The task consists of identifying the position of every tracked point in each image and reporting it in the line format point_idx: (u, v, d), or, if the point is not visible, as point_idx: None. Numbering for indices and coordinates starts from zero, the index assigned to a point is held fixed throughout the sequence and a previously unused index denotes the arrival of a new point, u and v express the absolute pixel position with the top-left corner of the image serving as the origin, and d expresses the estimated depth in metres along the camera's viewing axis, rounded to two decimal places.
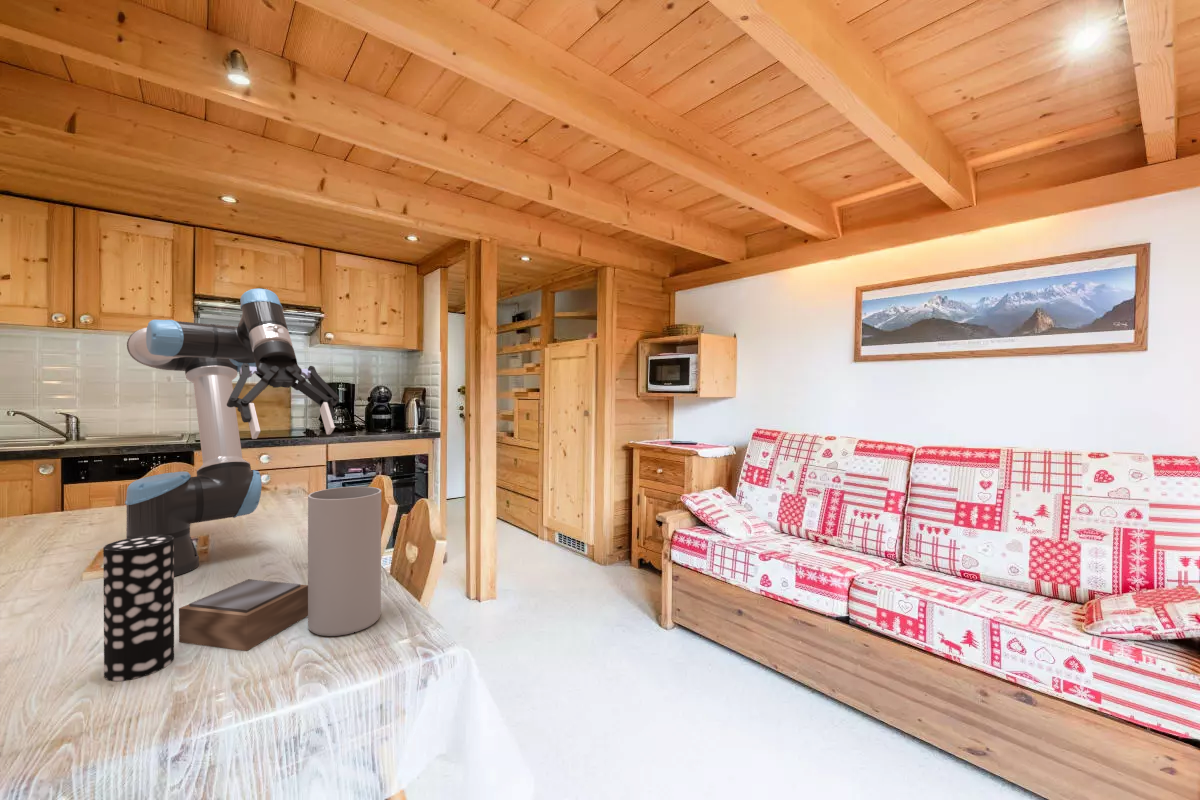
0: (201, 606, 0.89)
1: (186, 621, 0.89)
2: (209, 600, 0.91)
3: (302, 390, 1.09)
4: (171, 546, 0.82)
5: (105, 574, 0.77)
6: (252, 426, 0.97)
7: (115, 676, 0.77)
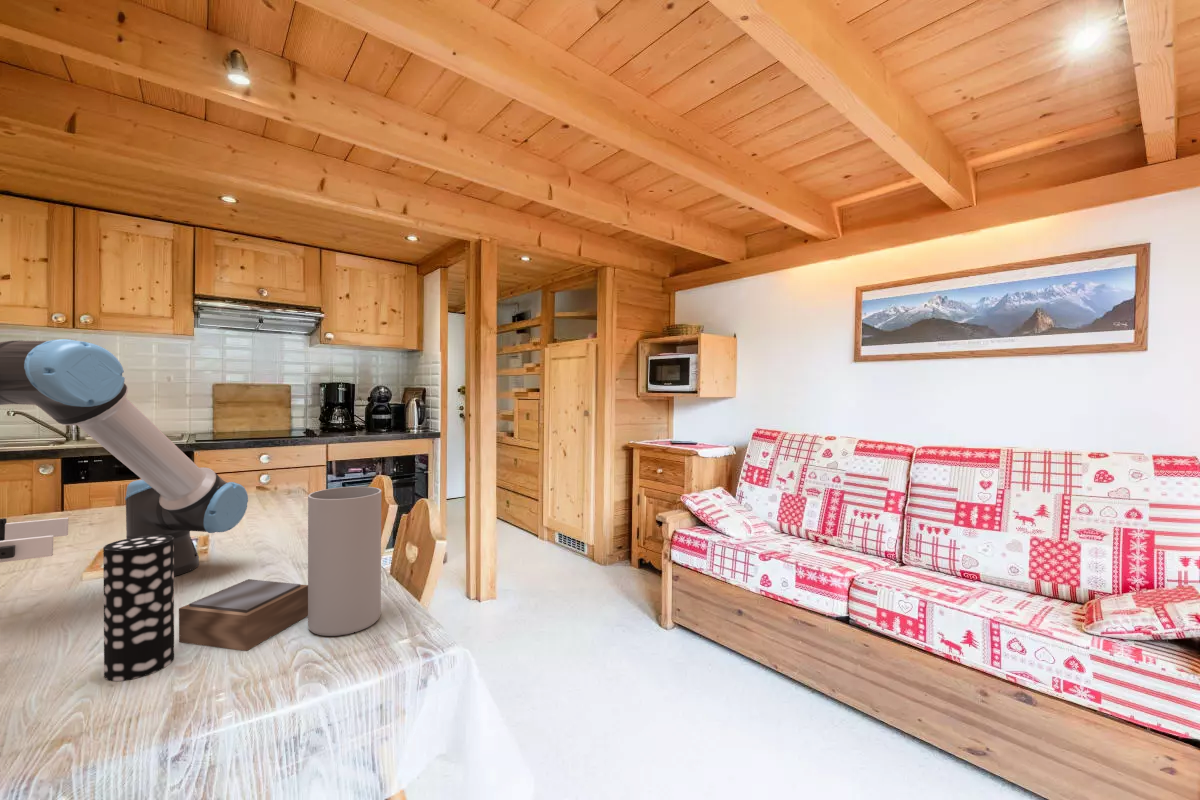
0: (201, 606, 0.89)
1: (186, 621, 0.89)
2: (209, 600, 0.91)
3: None
4: (171, 546, 0.82)
5: (105, 574, 0.77)
6: None
7: (115, 676, 0.77)
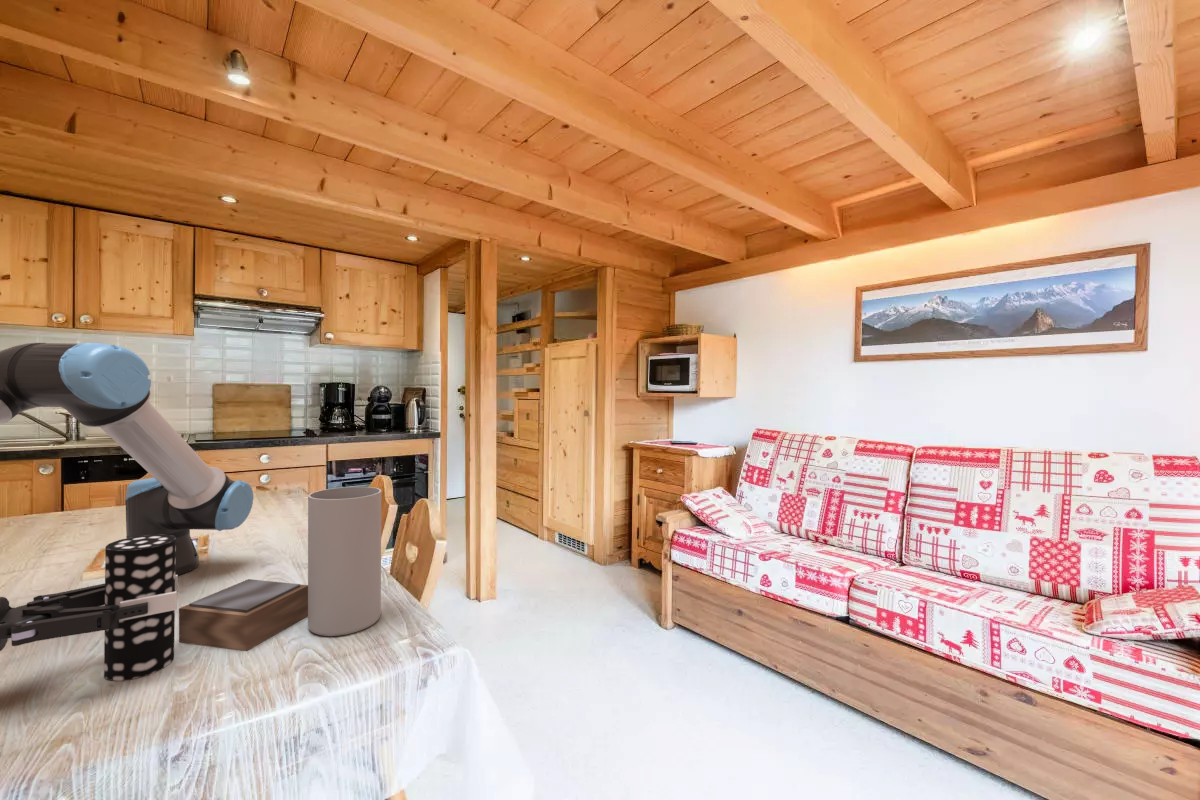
0: (201, 606, 0.89)
1: (186, 621, 0.89)
2: (209, 600, 0.91)
3: None
4: (173, 546, 0.82)
5: (107, 574, 0.77)
6: None
7: (115, 676, 0.77)
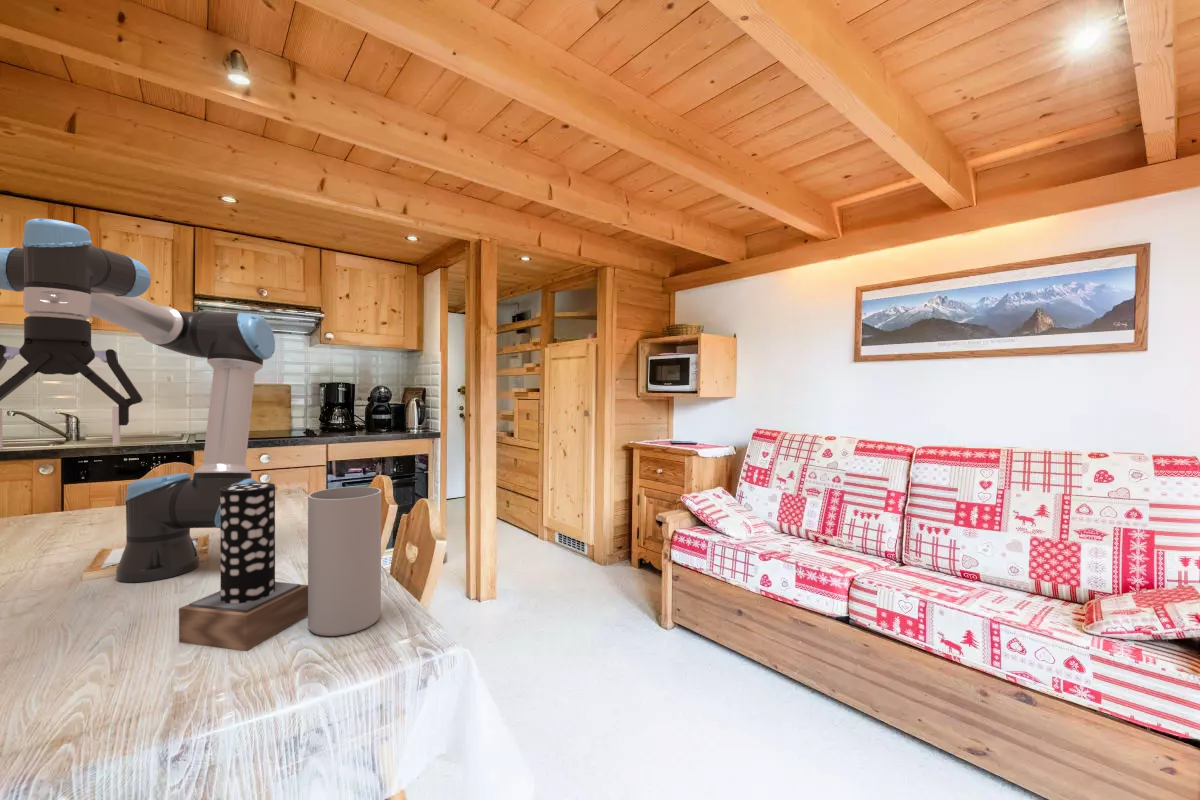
0: (201, 606, 0.89)
1: (186, 621, 0.89)
2: (209, 600, 0.91)
3: None
4: (274, 491, 0.95)
5: (223, 512, 0.90)
6: None
7: (232, 599, 0.90)
